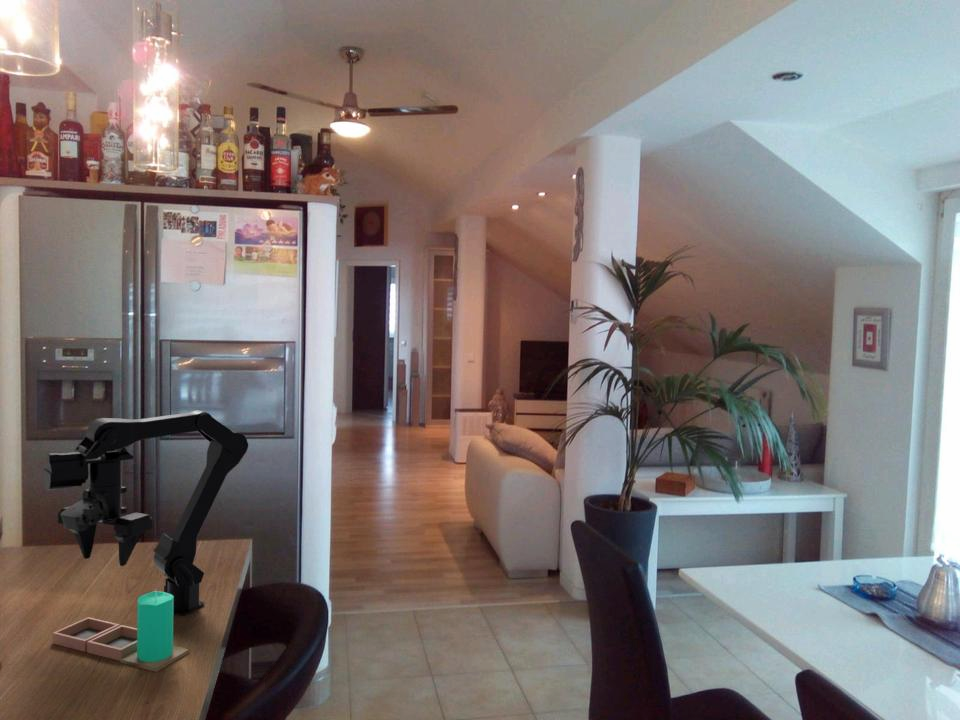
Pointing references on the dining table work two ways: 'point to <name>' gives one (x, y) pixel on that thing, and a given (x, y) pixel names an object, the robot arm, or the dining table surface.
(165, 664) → the pad
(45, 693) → the dining table surface
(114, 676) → the dining table surface
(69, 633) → the tray
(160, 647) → the candle
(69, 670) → the dining table surface
